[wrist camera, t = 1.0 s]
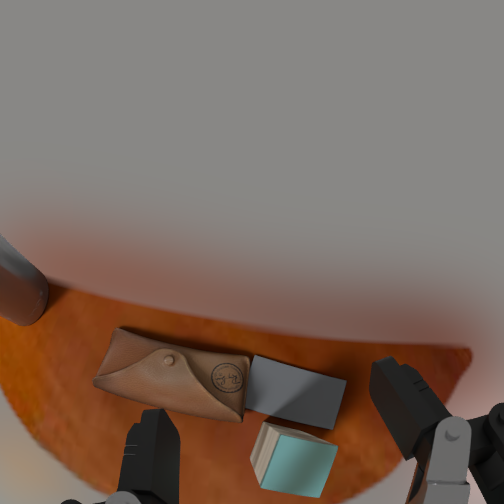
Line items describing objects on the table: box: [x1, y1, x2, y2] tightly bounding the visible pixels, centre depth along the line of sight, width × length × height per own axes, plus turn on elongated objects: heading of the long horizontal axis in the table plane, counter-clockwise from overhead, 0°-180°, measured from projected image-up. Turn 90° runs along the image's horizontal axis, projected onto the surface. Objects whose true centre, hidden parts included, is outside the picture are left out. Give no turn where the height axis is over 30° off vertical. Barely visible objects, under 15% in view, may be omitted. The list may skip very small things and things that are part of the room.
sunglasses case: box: [92, 328, 250, 423], centre depth 30 cm, size 18×7×7 cm, turn 83°
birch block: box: [250, 421, 338, 498], centre depth 23 cm, size 5×5×12 cm
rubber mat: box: [245, 355, 347, 430], centre depth 32 cm, size 12×6×1 cm, turn 72°
